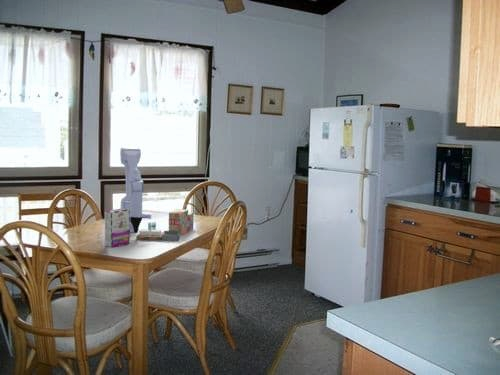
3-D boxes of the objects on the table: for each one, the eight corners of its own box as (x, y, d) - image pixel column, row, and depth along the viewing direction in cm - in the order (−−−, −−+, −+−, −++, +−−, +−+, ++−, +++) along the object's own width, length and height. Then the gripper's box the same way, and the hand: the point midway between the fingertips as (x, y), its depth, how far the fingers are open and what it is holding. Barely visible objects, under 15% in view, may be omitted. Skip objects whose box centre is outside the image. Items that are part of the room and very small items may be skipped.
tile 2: (150, 235, 233) (150, 231, 233) (151, 233, 238) (151, 229, 237) (159, 235, 233) (159, 231, 233) (161, 233, 238) (161, 229, 238)
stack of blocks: (182, 228, 264) (183, 206, 263) (193, 229, 263) (194, 207, 262) (168, 235, 244) (168, 212, 242) (179, 236, 242) (180, 213, 241)
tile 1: (139, 235, 233) (139, 231, 233) (140, 233, 237) (140, 229, 237) (148, 235, 233) (148, 231, 233) (149, 233, 238) (149, 229, 237)
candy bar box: (122, 242, 225) (122, 207, 224) (130, 243, 223) (130, 209, 221) (103, 246, 216) (104, 210, 214) (111, 247, 213) (111, 211, 212)
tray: (161, 240, 231) (161, 234, 231) (164, 236, 241) (164, 230, 241) (178, 241, 231) (178, 235, 231) (180, 236, 241) (180, 231, 241)
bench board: (136, 240, 230) (136, 236, 230) (140, 235, 241) (140, 231, 240) (161, 241, 230) (161, 237, 230) (163, 236, 241) (163, 232, 241)
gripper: (119, 206, 229) (119, 233, 230) (149, 207, 230) (149, 234, 231) (122, 204, 236) (122, 231, 237) (152, 204, 237) (151, 231, 238)
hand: (136, 232), depth 235 cm, fingers closed
